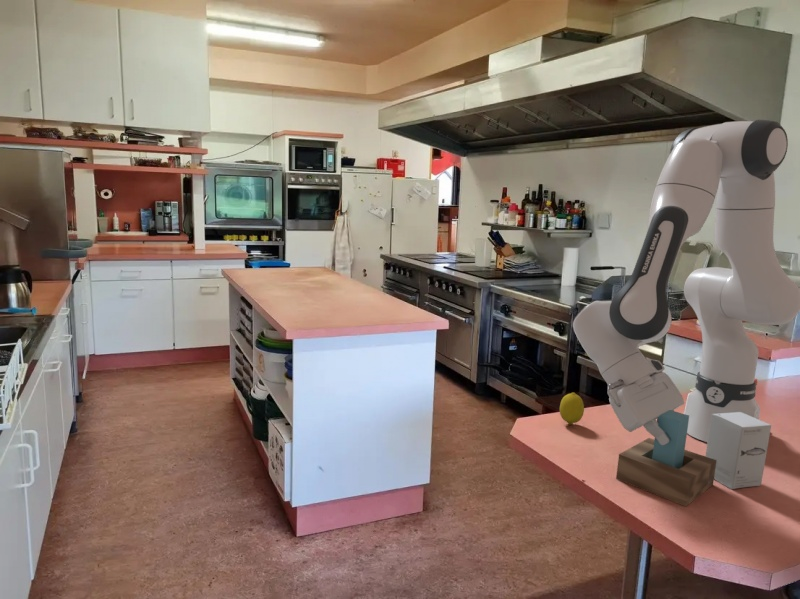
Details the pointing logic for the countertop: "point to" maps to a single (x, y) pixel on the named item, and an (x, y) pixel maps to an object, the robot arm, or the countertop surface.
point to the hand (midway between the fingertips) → (673, 439)
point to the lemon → (571, 408)
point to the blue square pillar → (672, 439)
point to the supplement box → (738, 448)
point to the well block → (666, 473)
